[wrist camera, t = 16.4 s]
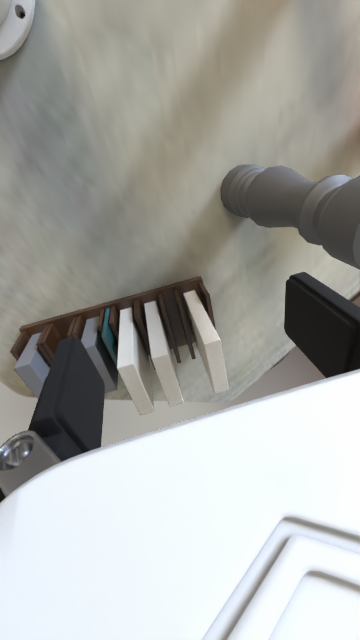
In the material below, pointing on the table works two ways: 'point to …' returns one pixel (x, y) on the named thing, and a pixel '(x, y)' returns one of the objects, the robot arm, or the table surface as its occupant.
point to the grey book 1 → (33, 366)
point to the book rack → (109, 321)
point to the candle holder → (299, 206)
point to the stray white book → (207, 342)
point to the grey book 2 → (100, 354)
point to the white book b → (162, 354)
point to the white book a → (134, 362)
